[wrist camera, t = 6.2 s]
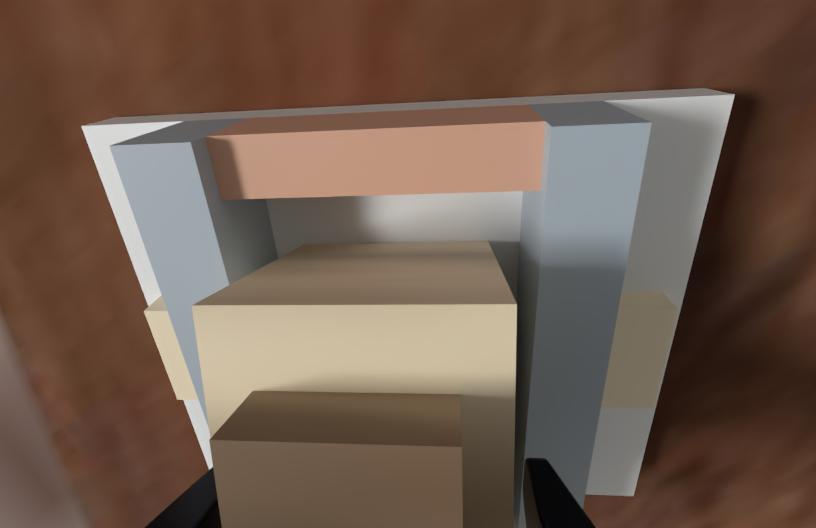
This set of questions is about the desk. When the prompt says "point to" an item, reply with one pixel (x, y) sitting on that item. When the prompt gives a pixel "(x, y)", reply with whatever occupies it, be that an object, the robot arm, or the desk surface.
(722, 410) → the desk surface
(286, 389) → the stepped cream block
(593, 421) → the jig
